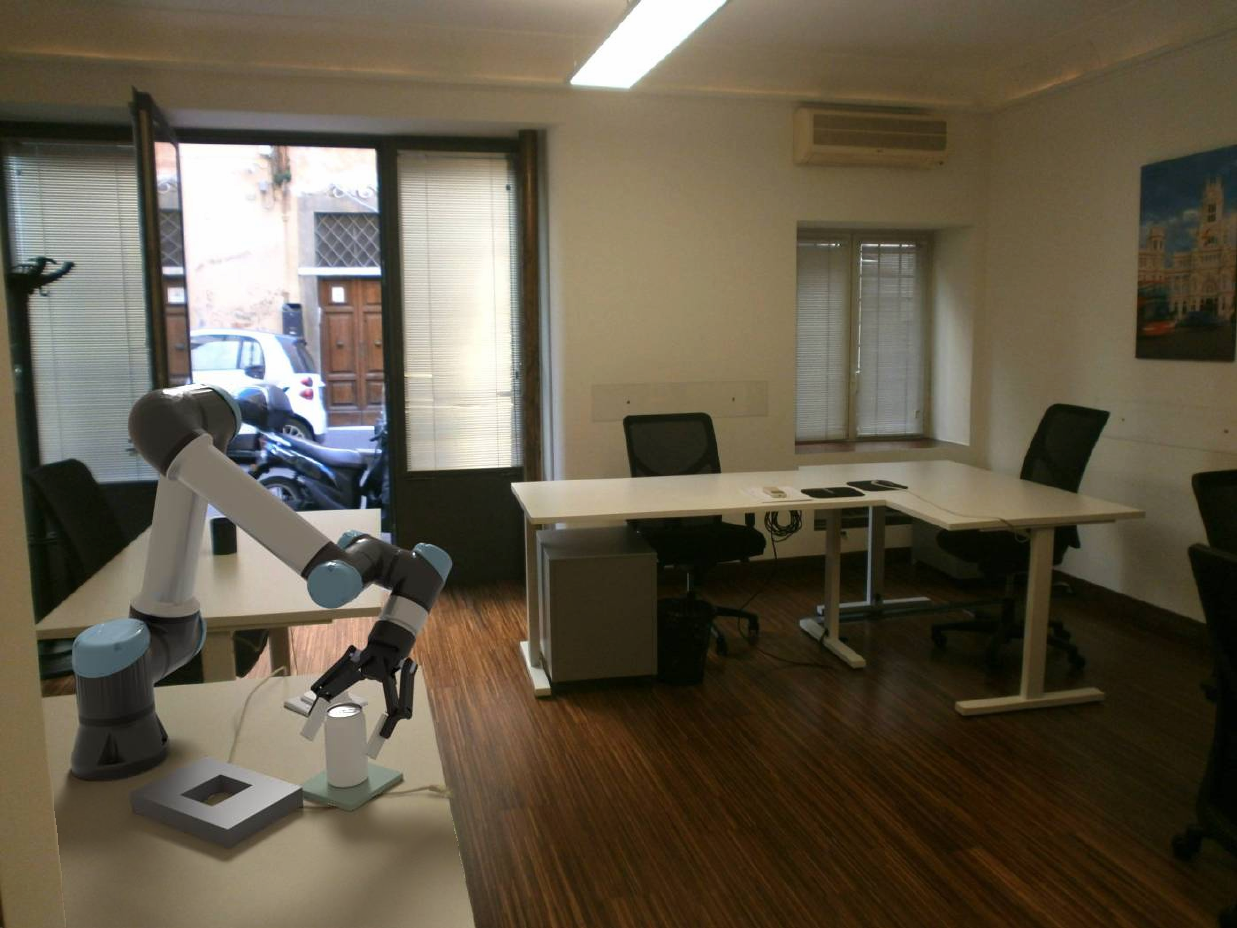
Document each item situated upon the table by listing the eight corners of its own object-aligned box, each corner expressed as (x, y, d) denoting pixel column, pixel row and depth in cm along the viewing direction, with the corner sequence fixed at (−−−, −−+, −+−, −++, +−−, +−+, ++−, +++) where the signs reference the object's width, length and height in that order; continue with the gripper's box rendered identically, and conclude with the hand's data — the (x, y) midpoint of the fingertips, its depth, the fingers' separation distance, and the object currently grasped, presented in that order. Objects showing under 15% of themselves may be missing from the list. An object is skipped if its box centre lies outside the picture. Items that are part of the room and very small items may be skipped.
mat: (294, 793, 155) (294, 787, 155) (349, 762, 165) (348, 756, 165) (350, 811, 149) (350, 805, 149) (403, 778, 159) (402, 772, 159)
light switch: (322, 708, 180) (282, 688, 188) (322, 729, 181) (283, 708, 189) (369, 690, 189) (330, 671, 196) (370, 710, 189) (330, 690, 197)
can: (326, 773, 159) (322, 704, 157) (367, 767, 161) (363, 699, 159) (327, 791, 153) (323, 720, 151) (369, 785, 155) (366, 714, 153)
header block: (131, 810, 149) (130, 792, 149) (208, 772, 162) (207, 755, 161) (229, 848, 139) (227, 829, 138) (303, 804, 151) (302, 786, 151)
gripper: (466, 651, 161) (409, 773, 151) (354, 627, 173) (294, 739, 162) (444, 629, 156) (384, 754, 145) (330, 607, 167) (267, 721, 157)
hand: (336, 747), depth 154 cm, fingers open, 13 cm apart
